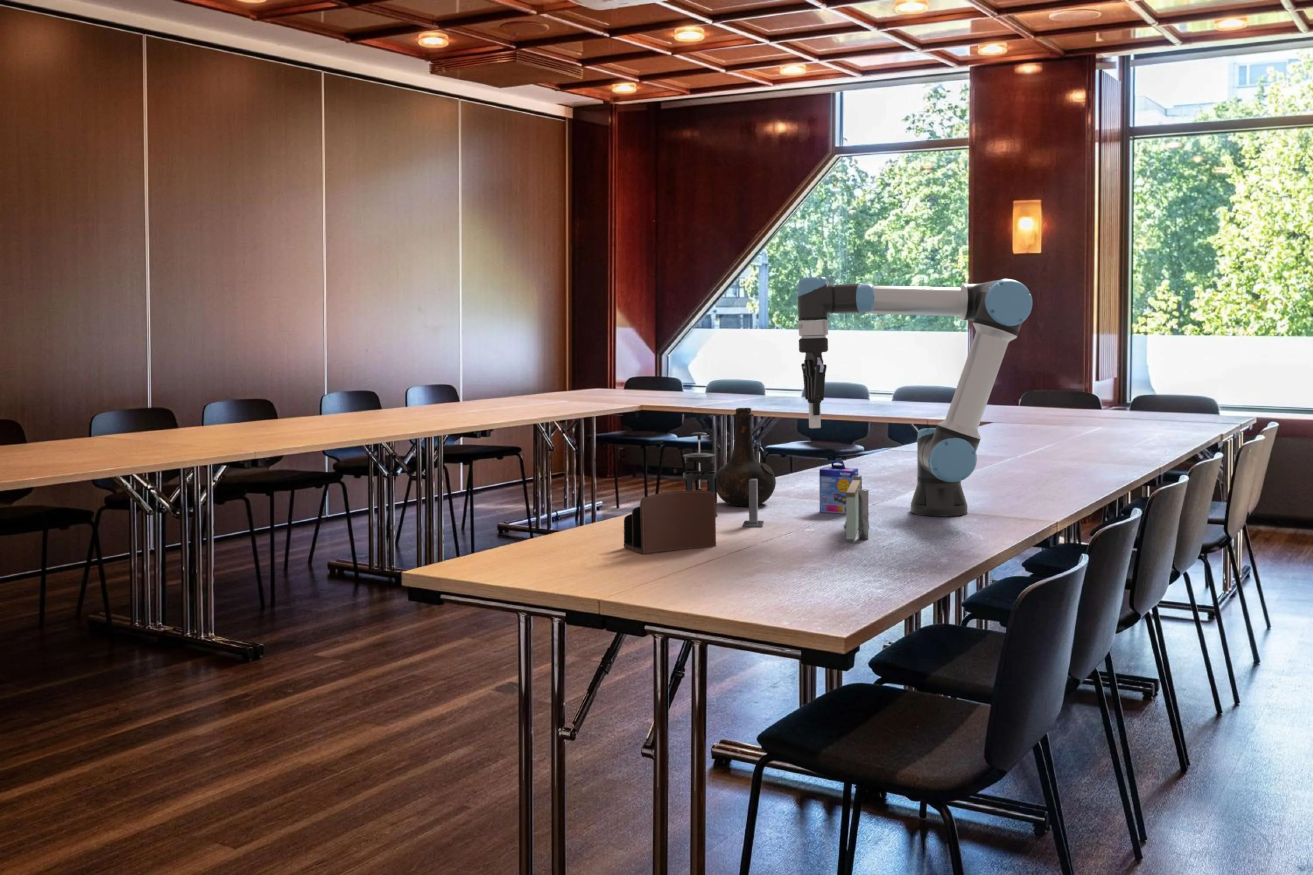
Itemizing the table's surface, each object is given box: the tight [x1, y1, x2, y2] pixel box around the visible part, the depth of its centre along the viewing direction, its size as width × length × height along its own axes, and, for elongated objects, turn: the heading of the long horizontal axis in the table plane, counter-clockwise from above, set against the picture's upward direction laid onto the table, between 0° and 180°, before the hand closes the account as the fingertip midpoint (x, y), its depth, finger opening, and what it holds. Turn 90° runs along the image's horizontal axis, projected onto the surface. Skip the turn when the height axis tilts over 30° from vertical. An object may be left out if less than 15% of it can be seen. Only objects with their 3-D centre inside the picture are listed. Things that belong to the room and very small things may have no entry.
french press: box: [682, 431, 718, 518], centre depth 337 cm, size 12×9×23 cm
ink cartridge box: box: [818, 460, 859, 515], centre depth 340 cm, size 10×6×14 cm, turn 64°
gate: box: [845, 480, 861, 540], centre depth 304 cm, size 22×2×11 cm, turn 167°
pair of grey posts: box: [742, 475, 870, 541], centre depth 311 cm, size 32×22×13 cm
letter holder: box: [623, 489, 717, 555], centre depth 293 cm, size 10×20×14 cm, turn 117°
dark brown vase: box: [716, 407, 777, 507], centre depth 357 cm, size 18×18×28 cm
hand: (814, 427), depth 323 cm, fingers closed
